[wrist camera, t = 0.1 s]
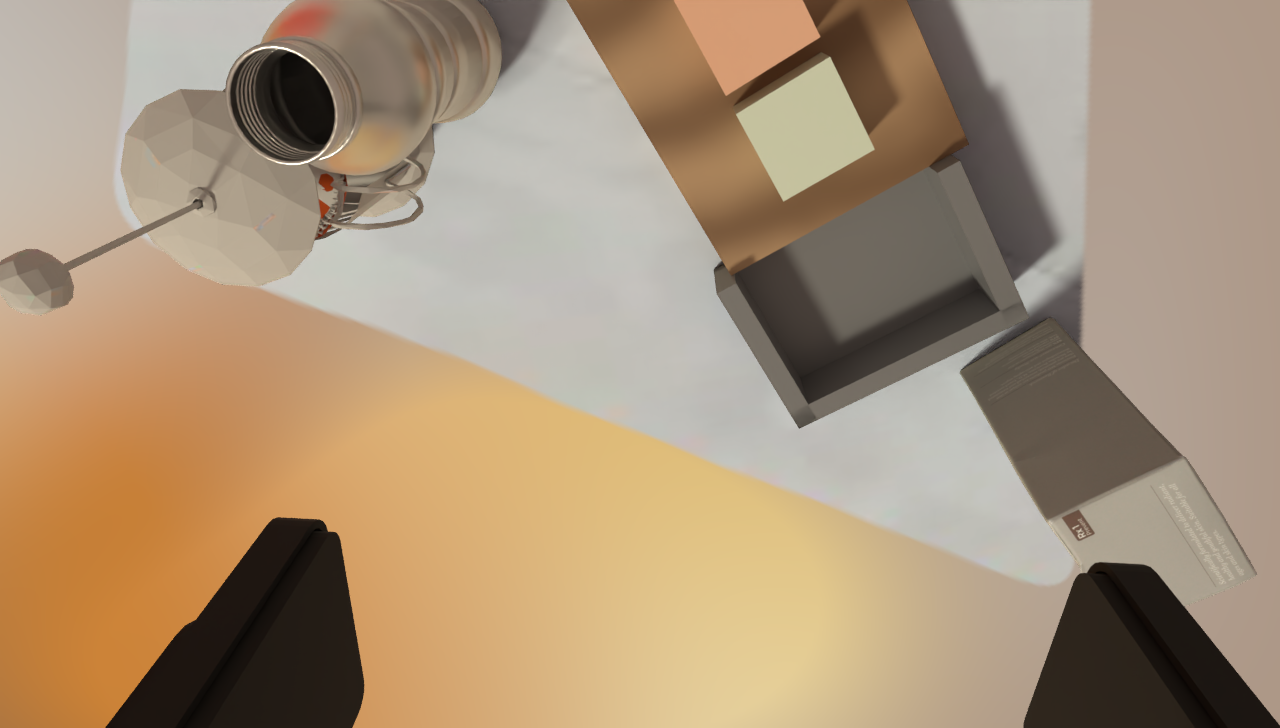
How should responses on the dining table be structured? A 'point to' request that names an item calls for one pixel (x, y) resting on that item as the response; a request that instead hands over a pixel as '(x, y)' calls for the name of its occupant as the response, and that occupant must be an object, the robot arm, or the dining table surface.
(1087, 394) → the skincare box
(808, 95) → the tile
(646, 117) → the walnut plate
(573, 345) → the dining table surface
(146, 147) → the french press
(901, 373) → the box
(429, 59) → the metal bottle
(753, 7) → the tile
